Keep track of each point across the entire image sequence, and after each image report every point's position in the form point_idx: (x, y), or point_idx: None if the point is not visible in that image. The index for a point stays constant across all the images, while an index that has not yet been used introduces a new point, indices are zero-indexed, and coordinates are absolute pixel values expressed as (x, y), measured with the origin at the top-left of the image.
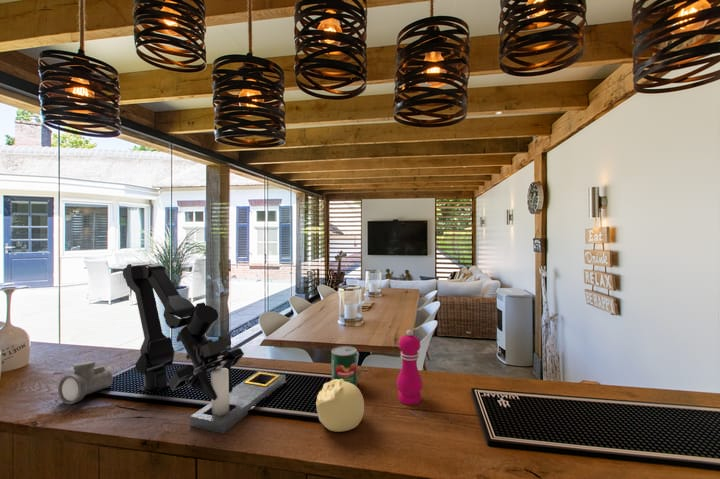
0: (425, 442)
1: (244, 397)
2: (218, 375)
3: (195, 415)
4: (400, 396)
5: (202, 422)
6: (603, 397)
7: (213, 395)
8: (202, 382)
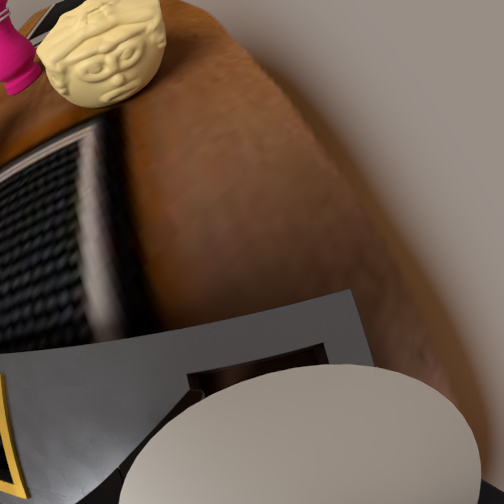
0: None
1: (106, 409)
2: (440, 396)
3: None
4: (28, 75)
5: None
6: (35, 23)
7: None
8: (492, 493)
